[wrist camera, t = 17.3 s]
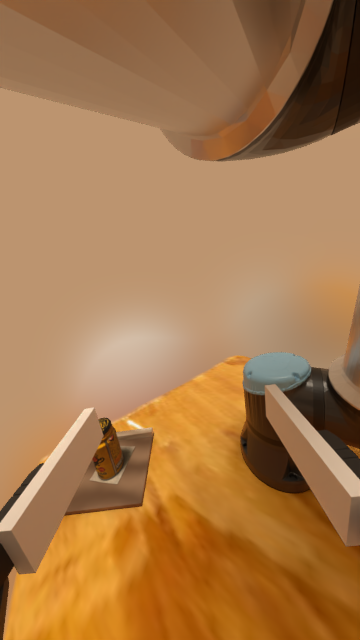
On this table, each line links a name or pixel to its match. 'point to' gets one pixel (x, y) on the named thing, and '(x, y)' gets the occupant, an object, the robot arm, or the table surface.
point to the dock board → (129, 486)
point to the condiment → (110, 455)
